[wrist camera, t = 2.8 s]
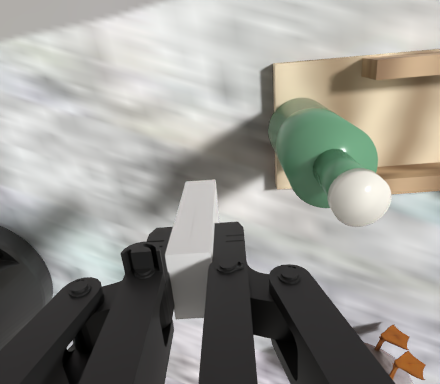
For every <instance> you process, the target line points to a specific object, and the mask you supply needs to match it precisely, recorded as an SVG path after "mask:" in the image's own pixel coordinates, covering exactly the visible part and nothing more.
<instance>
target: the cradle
mask: <svg viewBox="0 0 440 384" xmlns="http://www.w3.org/2000/svg"><path fill="white" fill-rule="evenodd" d="M273 91H274V112H275V111H276V110H277V109H278V108H279V107H280V106H281V105H282V104H283V103H285V102H287V101H289V100H291V99H295V98H309V99H313V100H315V101H317V102H318V103H320V104H322V105H323V106H325V107H326V108H328V109H329V110H331V111H333V112H334V113H336V114H337V115H339V116H340V117H342V118H343V119H345V120H347V121H348V122H350V123H351V124H353V125H354V126H356V127H358V128H359V129H361V130H362V131H364V132H365V133H366V134H367V135H368V136H369V137H370V138H371V140H372V141H373V143H374V145H375V147H376V150H377V154H378V167H377V171H376V174H378V175H379V176H380V177H381V178H382V179H383V180H385V182H386V183H387V184H388V185H389V188H390V190H391V194H402V193H416V192H430V191H440V49H434V50H422V51H411V52H399V53H388V54H376V55H365V56H354V57H342V58H331V59H319V60H308V61H296V62H285V63H274V64H273ZM275 181H276V187H277V190H278V189H291V188H292V187H291V185H290V183H289V181H288V179H287V177H286V174H285V172H284V170H283V168H282V166H281V164H280V162H279V160H278V158H277V155H276V153H275Z"/></svg>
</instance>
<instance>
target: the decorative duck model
mask: <svg viewBox="0 0 440 384" xmlns="http://www.w3.org/2000/svg"><path fill="white" fill-rule="evenodd" d="M379 338H380V340H379V342H378V344H377V345H376V347H375V346H373V345H370V344H367V343H364V344H365V345H366V346H367V348H368V349H369V350H370V351H371V353H372V354H373V355H374V357H375V358H376V359H377V360H378V362H379V363H380V364H381V366H382V367H383V368H384V369H385V371H386V372H387V373H388V375H389V376H390V377H391V378H392V380H393V381H394V382H395V384H413V382H412V380H411V378H410V376H409V375H408V373H409V374H411V375H412V376H414V377H416V378H419V379H421V380H425V379H423V369H424V367H425V364H424V363H422V362H421V361H419V360H418V359H416V358H415V357H414V356H413V355H412V354H411V353H410V352H409V351H407V352H405V353H404V354H403V355H402V356H400V357H399V358H398V359H395V358H394V357H393V356H391V355H390V354H388V353H387V352H385V351H383V350H381V349H380V348H381V346H382V343H383V342H384V341H387V342H389V343H391V344H394V345H396V346H398V347H401V348H403V349H406V350H409V349H407V342H408V339H409V337H408V336H407V335H405V334H404V333H402V332H401V331H399V330H398V329H397V328H396V327H395V326H394V325H392V326H390V327H389V328H388V329H387V330H386V331H385V332H383V333H382V334H381V337H379Z"/></svg>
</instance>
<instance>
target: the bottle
mask: <svg viewBox="0 0 440 384" xmlns="http://www.w3.org/2000/svg"><path fill="white" fill-rule="evenodd" d="M268 136H269V140H270V143H271V145H272V147H273V149H274V151H275V153H276V155H277V158H278V160H279V162H280V164H281V166H282V168H283V170H284V172H285V174H286V177H287V179H288V181H289V183H290V185H291V187H292V189H293V191H294V192H295V193H296V195H297V196H298V197H299V198H300V199H302V200H303V201H304V202H306V203H308V204H310V205H313V206H316V207H320V208H331V210H332V212H333V213H334V215H335V216H336V217H337V219H338V220H339V221H341V222H342V223H344V224H346V225H348V226H353V227H362V226H367V225H369V224H372V223H374V222H376V221H377V220H379V219H380V218H381V217H382V216H383V215H384V214H385V213H386V211H387V210H388V208H389V206H390V203H391V190H390V188H389V185H388V184H387V183H386V182H385V180H383V179H382V178H381V177H380V176H379V175H378V174H376V171H377V167H378V154H377V150H376V147H375V145H374V143H373V141H372V140H371V138H370V137H369V136H368V135H367V134H366V133H365V132H364V131H362V130H361V129H359V128H358V127H356V126H354V125H353V124H351V123H350V122H348V121H347V120H345V119H343V118H342V117H340V116H339V115H337V114H336V113H334V112H333V111H331V110H329V109H328V108H326V107H325V106H323V105H322V104H320V103H318V102H317V101H315V100H313V99H309V98H295V99H291V100H289V101H287V102H285V103H283V104H282V105H281V106H280V107H279V108H278V109H277V110H276V111H275V112H274V114H273V115H272V117H271V119H270V122H269V127H268Z"/></svg>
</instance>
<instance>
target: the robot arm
mask: <svg viewBox="0 0 440 384" xmlns="http://www.w3.org/2000/svg"><path fill="white" fill-rule="evenodd" d="M121 257H122V261H123V266H124V270H125V276H124V278H123V280H122V281H120V282H117V283H114V284H110V285H107V286H103V287H102V286H101V282H100V281H99V280H98V279H95V278H92V277H91V278H81V279H77V280H75V281H73V282H71V283H69V284H67V285H66V286H65V287H64V288H62V289H61V290H60V291H59V292H58V293H57V294H56V295H55V296H54V297H53V298H52V295H53V286H52V280H51V276H50V273H49V271H48V268H47V266H46V265H45V263H44V261H43V260H42V258H41V257H40V256H39V254H38V253H37V252H36V251H35V250H34V249H33V248H32V247H31V246H30V245H29V244H28V243H27V242H26V241H25V240H23V239H22V238H21V237H19V236H18V235H16V234H15V233H13V232H11V231H10V230H8V229H6V228H4V227H1V226H0V384H164V383H165V378H166V372H167V366H168V361H169V355H170V349H171V344H172V338H173V332H174V326H173V320H172V316H173V311H174V312H175V317H176V319H188V318H204V325H203V337H202V349H201V361H200V373H199V384H258V383H257V372H256V361H255V349H254V338H253V335H258V336H262V337H266V338H271V341H272V345H273V347H274V349H275V351H276V353H277V356H278V358H279V360H280V362H281V364H282V366H283V368H284V371H285V373H286V375H287V377H288V379H289V381H290V384H395V382H394V381H393V380H392V378H391V377H390V376H389V375H388V373H387V372H386V371H385V369H384V368H383V367H382V366H381V364H380V363H379V362H378V360H377V359H376V358H375V357H374V355H373V354H372V353H371V351H370V350H369V349H368V348H367V346H366V345H365V344H364V342H363V341H362V340H361V339H360V337H359V336H358V335H357V333H356V332H355V331H354V330H353V328H352V327H351V326H350V324H349V323H348V322H347V321H346V319H345V318H344V317H343V315H342V314H341V313H340V312H339V310H338V309H337V308H336V306H335V305H334V304H333V303H332V301H331V300H330V299H329V297H328V296H327V295H326V294H325V292H324V291H323V290H322V288H321V287H320V286H319V285H318V283H317V282H316V281H315V279H314V278H313V277H312V276H311V274H310V273H309V272H308V271H307V270H306V269H304V268H302V267H300V266H297V265H290V264H289V265H281V266H278V267H275V268H274V269H273V270H272V271H271V272H270V274H263V273H259V272H257V271H254V270H253V269H251V268H250V267H249V266H248V265H247V262H246V252H245V241H244V230H243V227H242V226H241V225H240V223H239V222H227V223H220V220H219V210H218V199H217V189H216V179H214V180H200V181H186V183H185V186H184V190H183V193H182V197H181V200H180V204H179V207H178V211H177V214H176V218H175V221H174V225H173V227H164V228H156V229H155V230H154V231H153V232H151V233H150V234H149V236H148V239H147V242H140V243H135V244H133V245H130V246H128V247H127V248H125V249H124V250H123V251H122V252H121ZM72 340H73V345H72V346H71V347H70V348H69V349H68V350H67V349H66V348H67V346H68V345H69V344H70V342H71V341H72Z"/></svg>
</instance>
